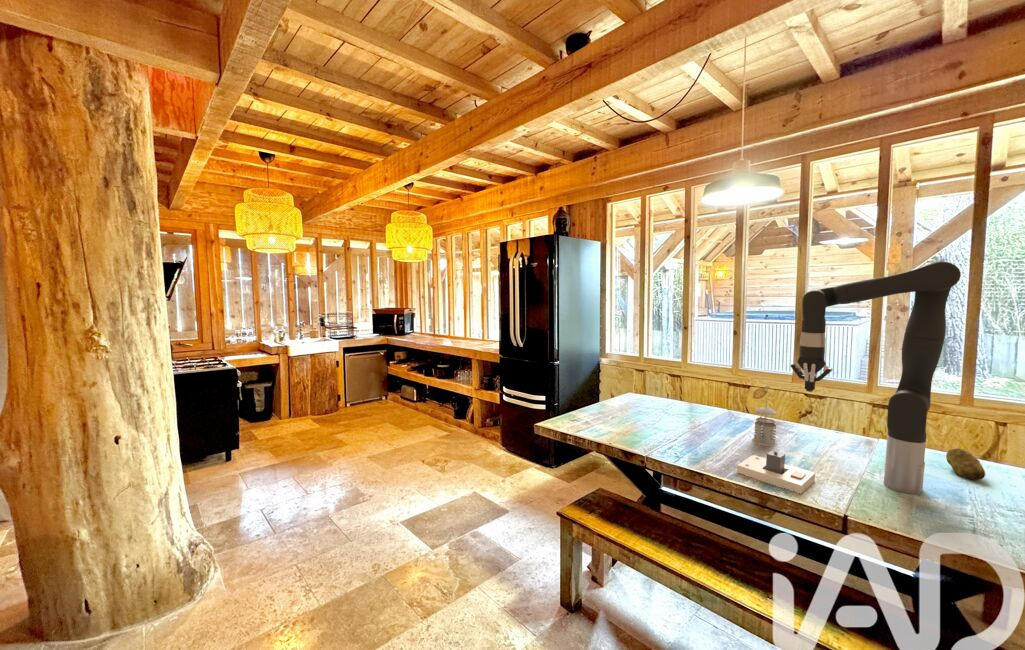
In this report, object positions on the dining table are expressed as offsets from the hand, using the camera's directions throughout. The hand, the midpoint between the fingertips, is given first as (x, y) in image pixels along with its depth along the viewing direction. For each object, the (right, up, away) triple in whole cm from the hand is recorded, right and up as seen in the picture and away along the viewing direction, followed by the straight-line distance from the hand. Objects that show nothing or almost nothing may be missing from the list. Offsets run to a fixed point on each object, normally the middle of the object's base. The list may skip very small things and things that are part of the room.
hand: (809, 391), depth 151 cm
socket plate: (-16, -30, -5) cm, 34 cm away
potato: (+52, -29, -4) cm, 60 cm away
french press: (-1, -27, +26) cm, 38 cm away
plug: (-16, -29, -5) cm, 34 cm away
